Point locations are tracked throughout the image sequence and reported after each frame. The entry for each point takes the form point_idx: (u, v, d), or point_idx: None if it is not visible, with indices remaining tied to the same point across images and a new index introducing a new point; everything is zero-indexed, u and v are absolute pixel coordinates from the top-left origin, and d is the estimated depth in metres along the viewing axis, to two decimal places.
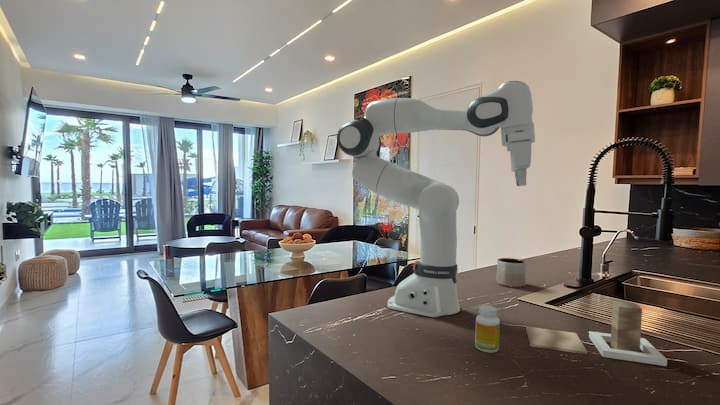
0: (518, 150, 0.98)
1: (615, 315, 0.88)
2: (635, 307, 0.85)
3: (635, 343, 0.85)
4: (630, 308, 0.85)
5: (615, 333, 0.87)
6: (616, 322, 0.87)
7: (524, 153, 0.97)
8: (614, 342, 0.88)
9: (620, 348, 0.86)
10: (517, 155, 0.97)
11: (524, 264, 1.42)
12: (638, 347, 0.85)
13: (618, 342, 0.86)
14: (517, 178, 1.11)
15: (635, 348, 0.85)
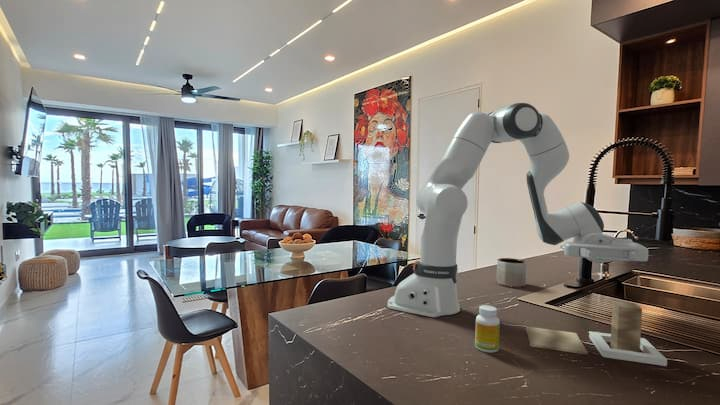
0: None
1: (615, 315, 0.88)
2: (635, 307, 0.85)
3: (635, 343, 0.85)
4: (630, 308, 0.85)
5: (615, 333, 0.87)
6: (616, 322, 0.87)
7: None
8: (614, 342, 0.88)
9: (620, 348, 0.86)
10: None
11: (524, 264, 1.42)
12: (638, 347, 0.85)
13: (618, 342, 0.86)
14: None
15: (635, 348, 0.85)
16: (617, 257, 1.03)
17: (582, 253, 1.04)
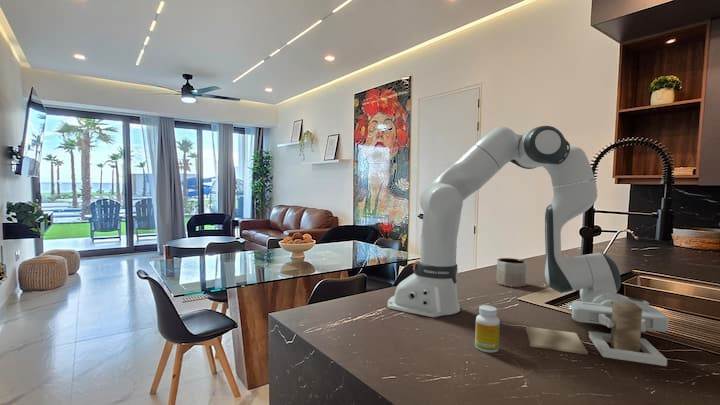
0: None
1: (615, 315, 0.88)
2: (635, 307, 0.85)
3: (635, 343, 0.85)
4: (630, 308, 0.85)
5: (615, 333, 0.87)
6: (616, 322, 0.87)
7: None
8: (614, 342, 0.88)
9: (620, 348, 0.86)
10: None
11: (524, 264, 1.42)
12: (638, 347, 0.85)
13: (618, 342, 0.86)
14: None
15: (635, 348, 0.85)
16: None
17: (601, 320, 0.91)
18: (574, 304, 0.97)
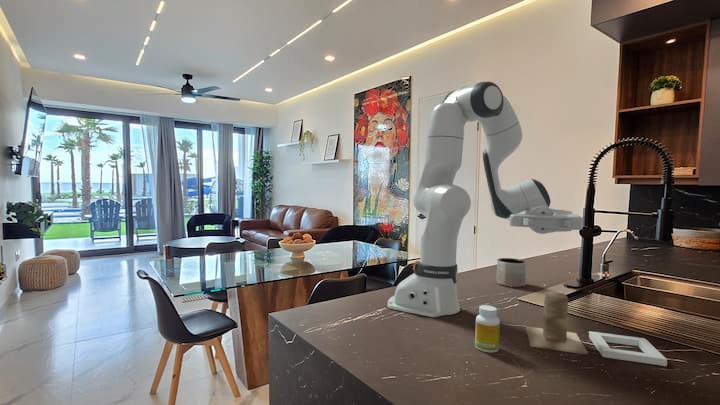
0: None
1: (545, 304, 0.93)
2: (562, 297, 0.90)
3: (562, 331, 0.90)
4: (557, 298, 0.90)
5: (545, 322, 0.92)
6: (546, 311, 0.92)
7: None
8: (544, 330, 0.93)
9: (549, 336, 0.91)
10: None
11: (524, 264, 1.42)
12: (565, 334, 0.89)
13: (547, 330, 0.91)
14: None
15: (562, 335, 0.90)
16: (555, 226, 1.11)
17: (524, 222, 1.12)
18: (511, 214, 1.18)
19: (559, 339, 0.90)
